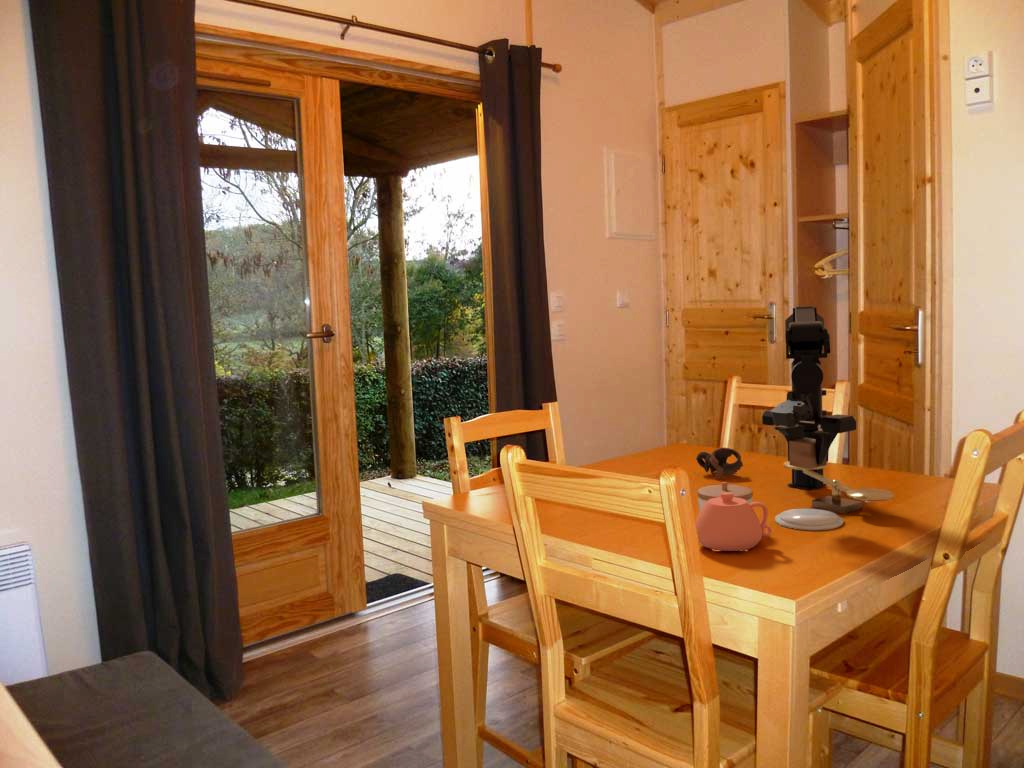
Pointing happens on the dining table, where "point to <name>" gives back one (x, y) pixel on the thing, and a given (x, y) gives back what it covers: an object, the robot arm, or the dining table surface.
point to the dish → (809, 519)
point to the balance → (835, 500)
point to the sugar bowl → (730, 523)
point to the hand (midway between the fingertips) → (808, 462)
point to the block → (803, 453)
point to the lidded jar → (715, 491)
